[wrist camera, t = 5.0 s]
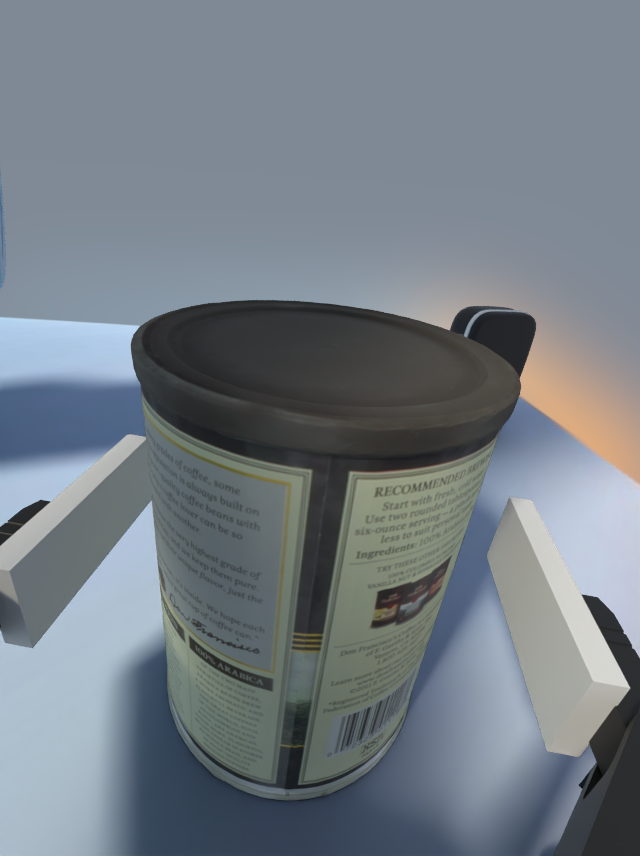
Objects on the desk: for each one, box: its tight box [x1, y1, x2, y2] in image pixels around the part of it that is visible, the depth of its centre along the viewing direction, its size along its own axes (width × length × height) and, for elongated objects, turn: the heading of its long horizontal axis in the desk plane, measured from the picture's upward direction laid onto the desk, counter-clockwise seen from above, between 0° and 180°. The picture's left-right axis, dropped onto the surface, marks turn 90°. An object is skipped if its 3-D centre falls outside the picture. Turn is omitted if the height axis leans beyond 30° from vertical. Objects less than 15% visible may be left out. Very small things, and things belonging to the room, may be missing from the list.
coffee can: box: [131, 300, 521, 800], centre depth 15 cm, size 10×10×14 cm
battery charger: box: [450, 306, 536, 430], centre depth 39 cm, size 7×4×11 cm, turn 111°
